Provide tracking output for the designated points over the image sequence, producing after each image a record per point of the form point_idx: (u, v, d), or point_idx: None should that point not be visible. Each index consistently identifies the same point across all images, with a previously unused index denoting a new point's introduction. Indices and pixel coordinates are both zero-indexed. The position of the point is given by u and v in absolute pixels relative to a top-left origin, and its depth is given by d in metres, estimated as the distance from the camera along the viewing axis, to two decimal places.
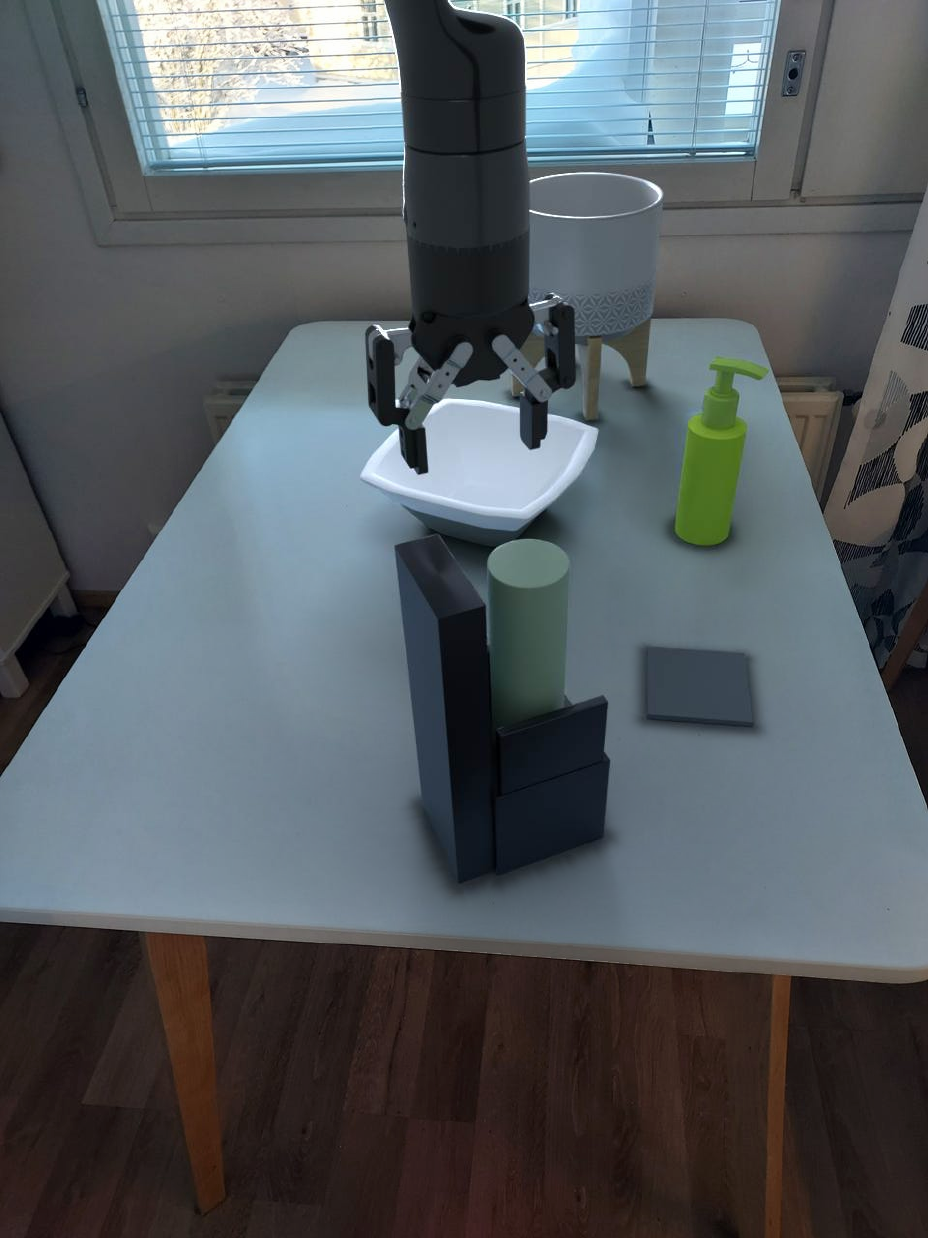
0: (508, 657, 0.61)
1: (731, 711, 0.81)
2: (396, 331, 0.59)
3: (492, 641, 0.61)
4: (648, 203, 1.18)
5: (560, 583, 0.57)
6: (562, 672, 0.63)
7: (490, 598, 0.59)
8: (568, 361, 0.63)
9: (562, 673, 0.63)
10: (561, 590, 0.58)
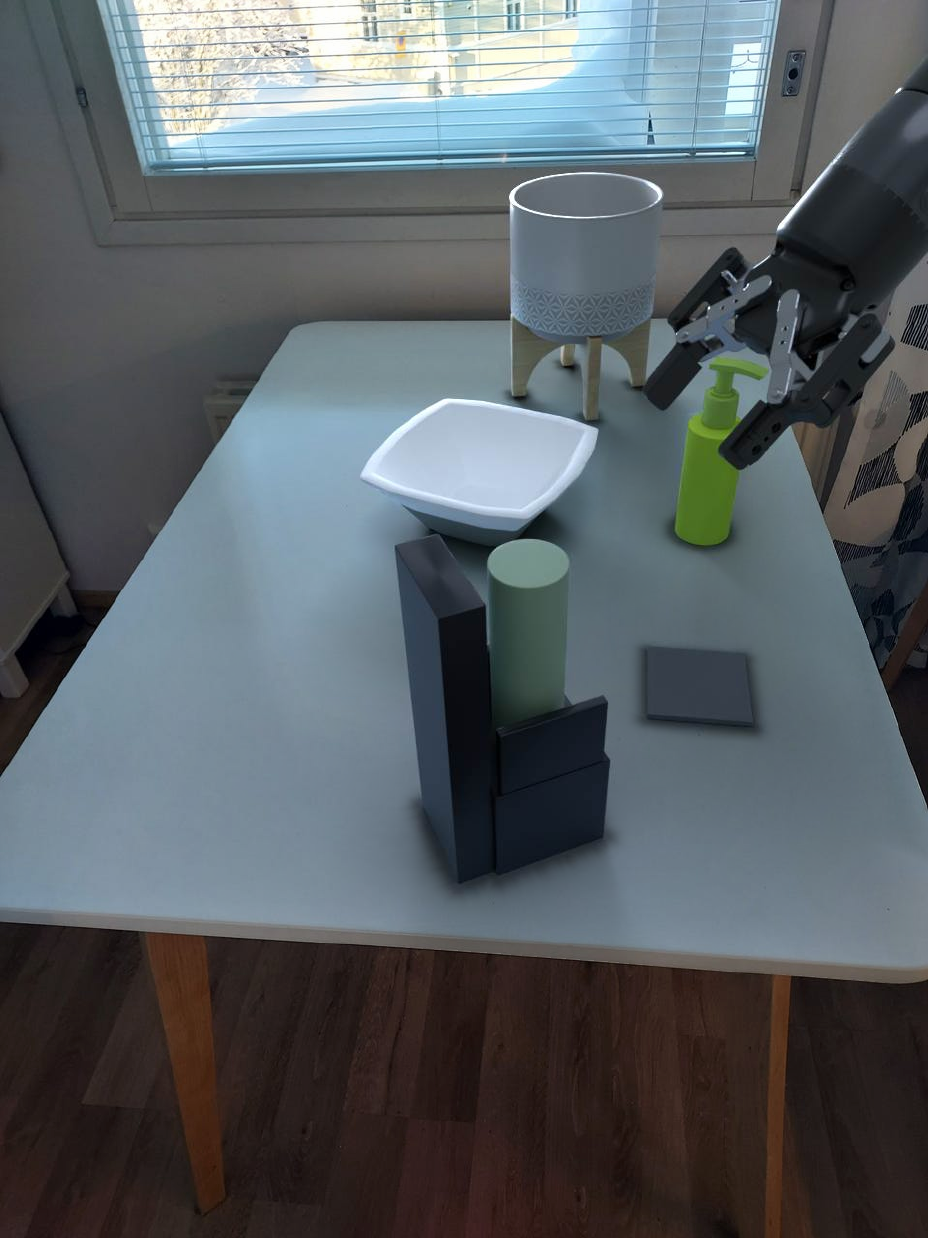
0: (508, 657, 0.61)
1: (731, 711, 0.81)
2: None
3: (492, 641, 0.61)
4: (648, 203, 1.18)
5: (560, 583, 0.57)
6: (562, 672, 0.63)
7: (490, 598, 0.59)
8: None
9: (562, 673, 0.63)
10: (561, 590, 0.58)
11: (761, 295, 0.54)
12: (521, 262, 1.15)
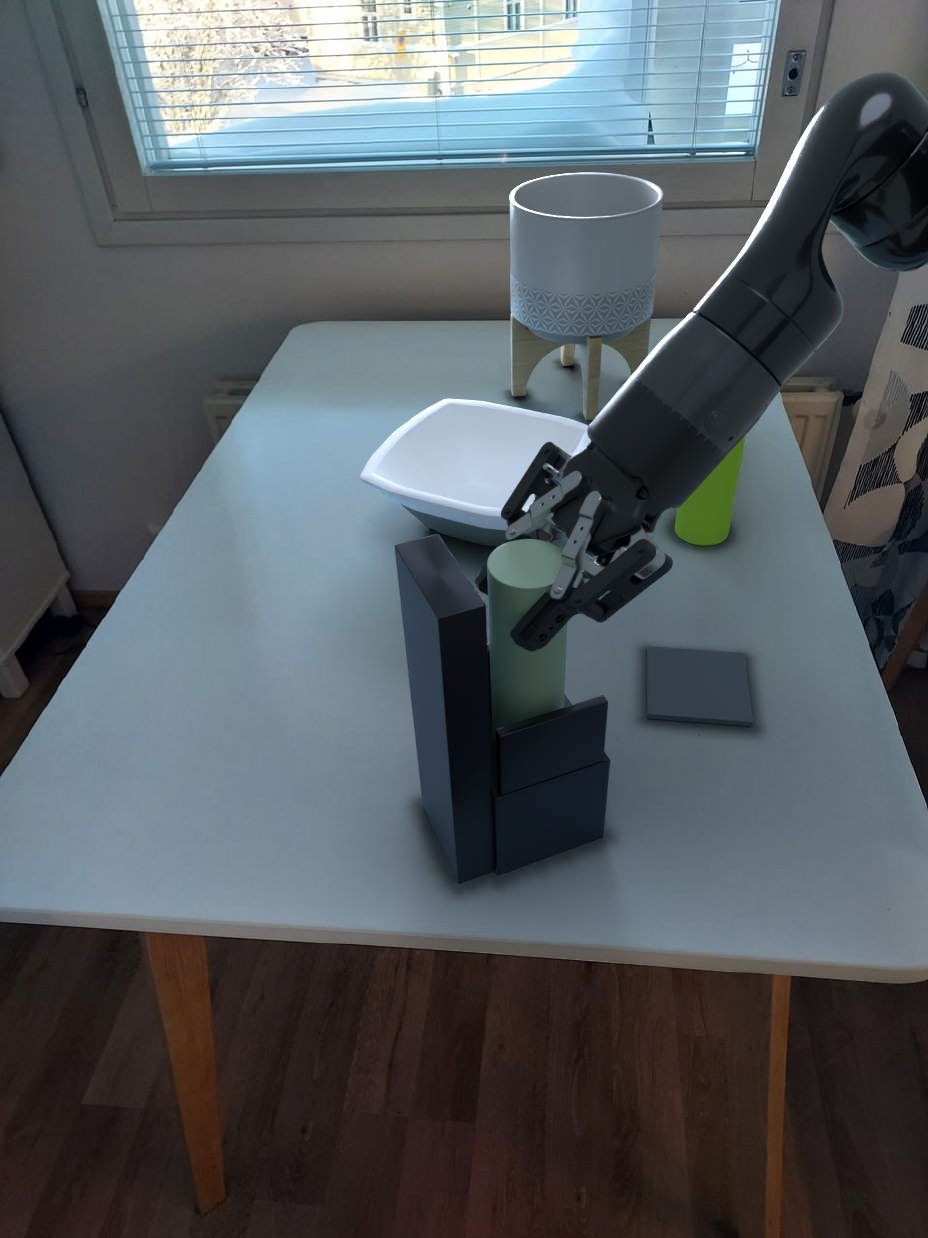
0: (508, 657, 0.61)
1: (731, 711, 0.81)
2: (650, 537, 0.54)
3: (492, 641, 0.61)
4: (648, 203, 1.18)
5: None
6: (562, 672, 0.63)
7: (490, 598, 0.59)
8: None
9: (562, 673, 0.63)
10: None
11: (575, 489, 0.57)
12: (520, 262, 1.15)
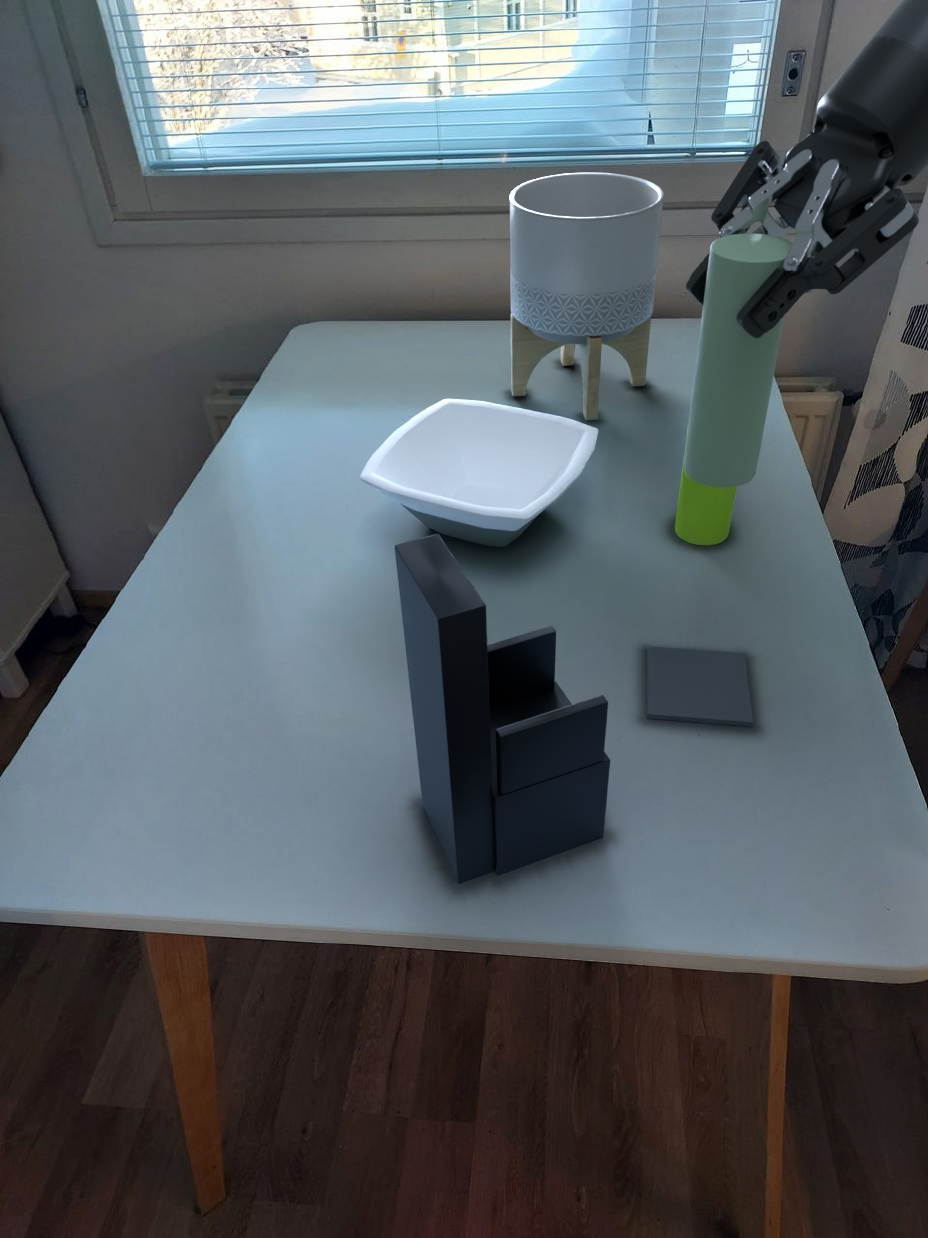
0: (724, 354, 0.60)
1: (731, 711, 0.81)
2: None
3: (706, 341, 0.61)
4: (648, 203, 1.18)
5: None
6: (772, 379, 0.62)
7: (712, 287, 0.59)
8: None
9: (771, 381, 0.62)
10: None
11: (804, 167, 0.57)
12: (520, 262, 1.15)
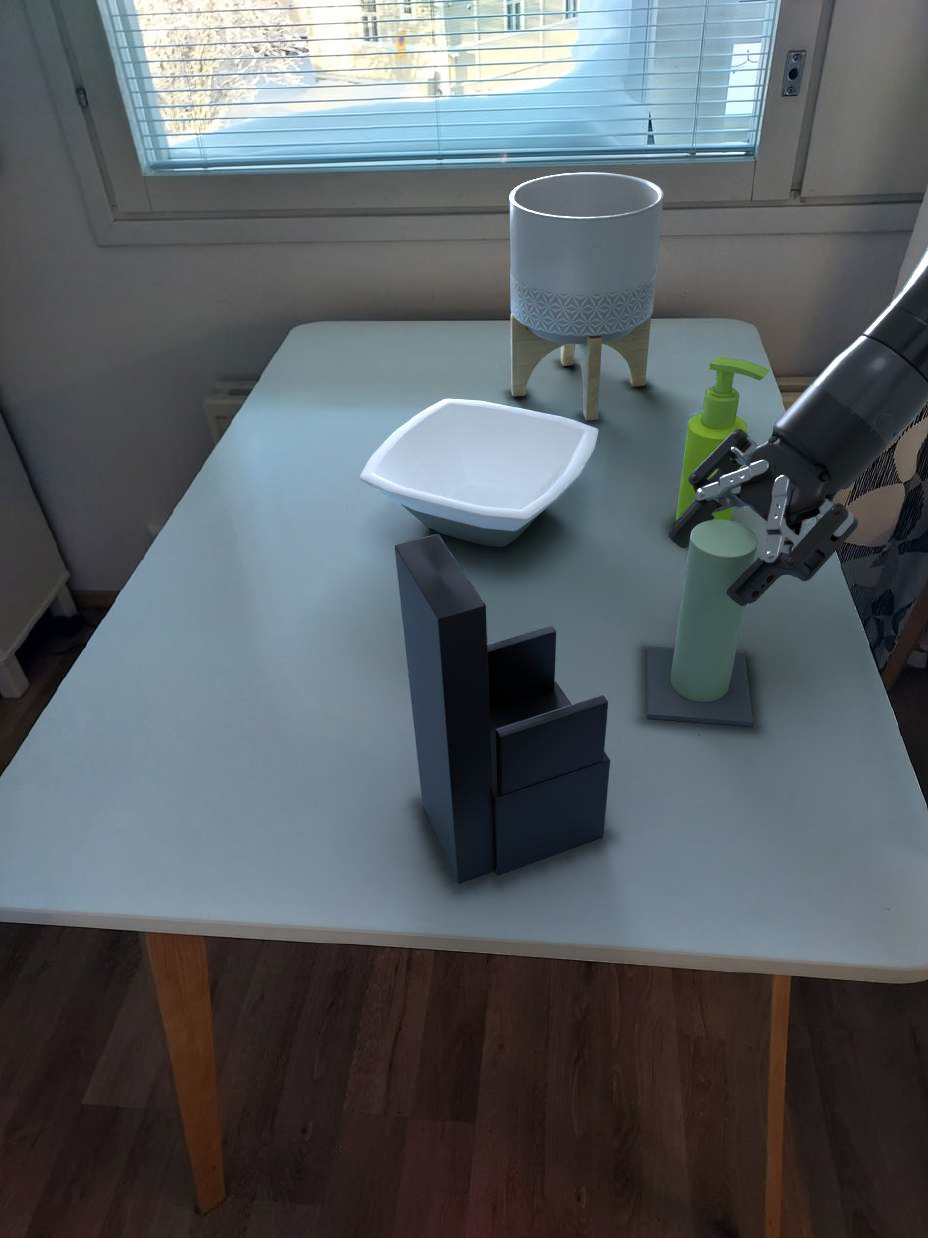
0: (702, 613, 0.76)
1: (731, 711, 0.81)
2: None
3: (687, 601, 0.77)
4: (648, 203, 1.18)
5: (752, 554, 0.73)
6: (740, 627, 0.78)
7: (692, 566, 0.75)
8: None
9: (740, 628, 0.78)
10: (752, 559, 0.73)
11: (760, 474, 0.73)
12: (520, 262, 1.15)
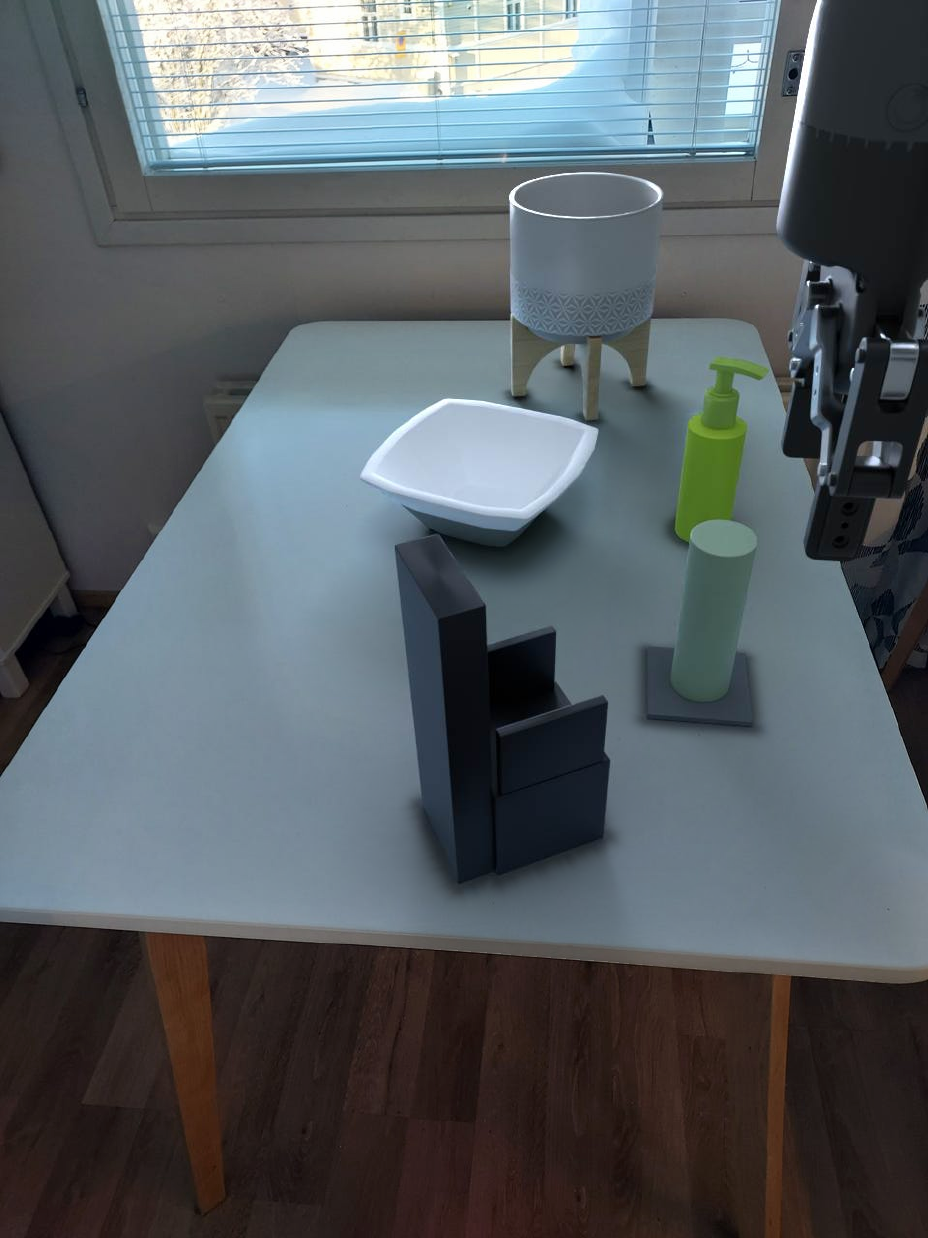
0: (702, 613, 0.76)
1: (731, 711, 0.81)
2: (892, 331, 0.32)
3: (687, 601, 0.77)
4: (648, 203, 1.18)
5: (752, 554, 0.73)
6: (740, 627, 0.78)
7: (692, 566, 0.75)
8: None
9: (740, 628, 0.78)
10: (752, 559, 0.73)
11: (809, 312, 0.38)
12: (520, 262, 1.15)
